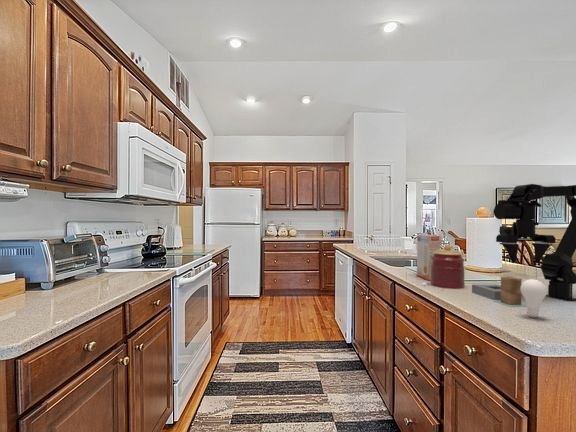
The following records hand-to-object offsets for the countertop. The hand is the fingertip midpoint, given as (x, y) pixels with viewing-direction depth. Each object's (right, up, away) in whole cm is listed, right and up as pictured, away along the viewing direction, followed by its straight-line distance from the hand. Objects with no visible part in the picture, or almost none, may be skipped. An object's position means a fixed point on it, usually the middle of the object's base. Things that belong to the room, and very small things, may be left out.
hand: (525, 262), depth 118 cm
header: (-9, -13, +2) cm, 16 cm away
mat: (-11, -13, -9) cm, 19 cm away
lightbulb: (-14, -13, -22) cm, 29 cm away
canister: (-18, -13, +20) cm, 30 cm away
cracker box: (-18, -13, +39) cm, 45 cm away
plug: (-11, -12, -9) cm, 19 cm away
